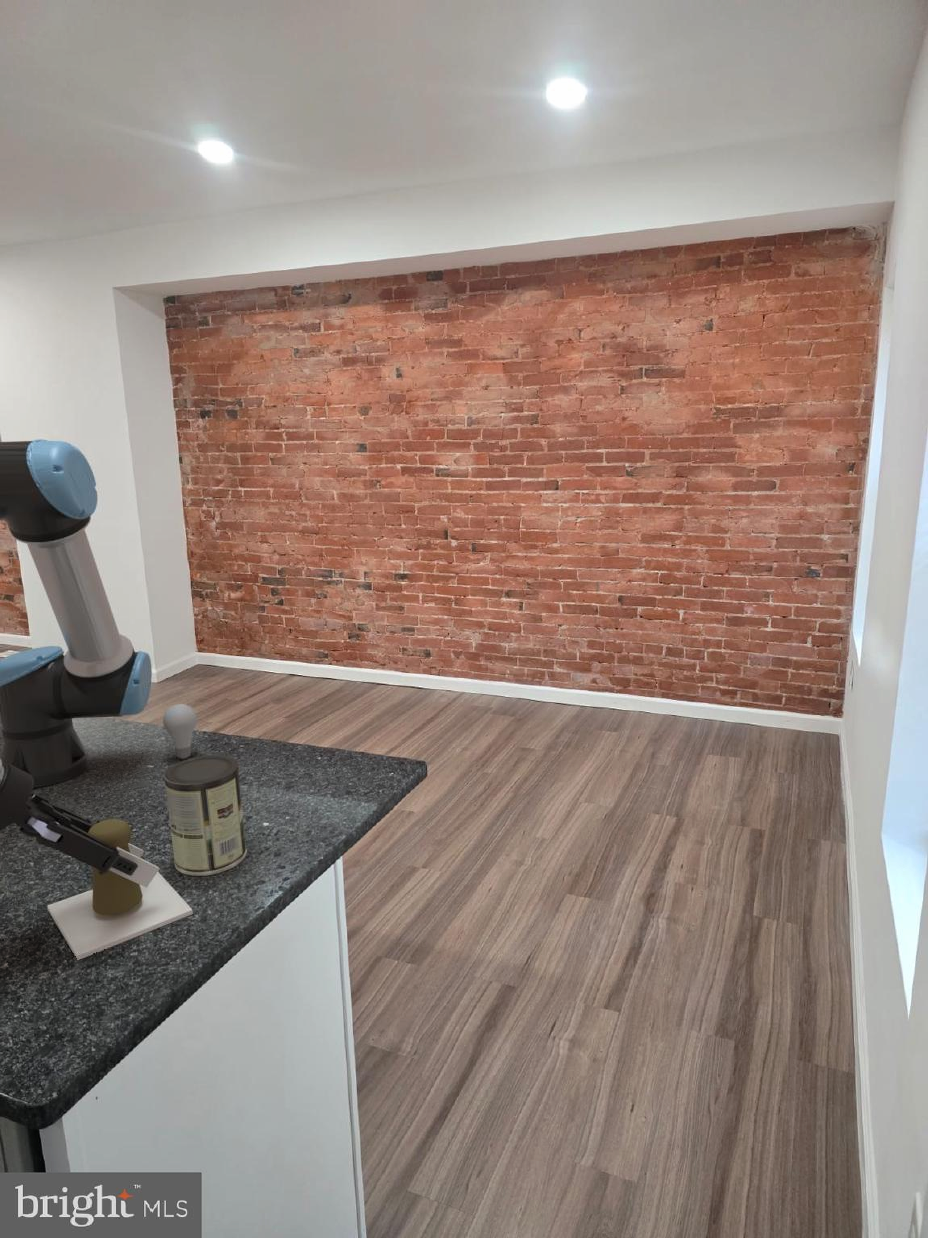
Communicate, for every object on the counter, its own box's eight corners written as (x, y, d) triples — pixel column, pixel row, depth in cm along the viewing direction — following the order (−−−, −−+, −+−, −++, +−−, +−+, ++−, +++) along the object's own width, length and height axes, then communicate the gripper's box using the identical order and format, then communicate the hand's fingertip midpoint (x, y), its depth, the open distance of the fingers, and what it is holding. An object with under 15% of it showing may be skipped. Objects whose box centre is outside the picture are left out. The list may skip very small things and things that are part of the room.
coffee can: (197, 838, 123) (187, 752, 120) (258, 843, 121) (251, 756, 118) (159, 873, 113) (147, 781, 110) (225, 880, 111) (216, 786, 108)
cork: (124, 917, 100) (113, 837, 98) (82, 912, 101) (70, 833, 99) (152, 890, 106) (142, 814, 103) (111, 886, 107) (101, 811, 105)
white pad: (47, 909, 105) (47, 905, 105) (154, 871, 113) (154, 867, 113) (77, 960, 94) (76, 956, 94) (192, 914, 103) (192, 909, 103)
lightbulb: (161, 760, 153) (154, 706, 151) (187, 750, 158) (182, 697, 155) (180, 767, 150) (174, 712, 147) (207, 756, 155) (202, 703, 152)
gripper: (-53, 792, 97) (104, 866, 111) (-26, 848, 83) (150, 924, 97) (-11, 740, 99) (139, 819, 113) (23, 786, 85) (188, 870, 99)
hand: (144, 868), depth 105 cm, fingers closed on cork, 5 cm apart
